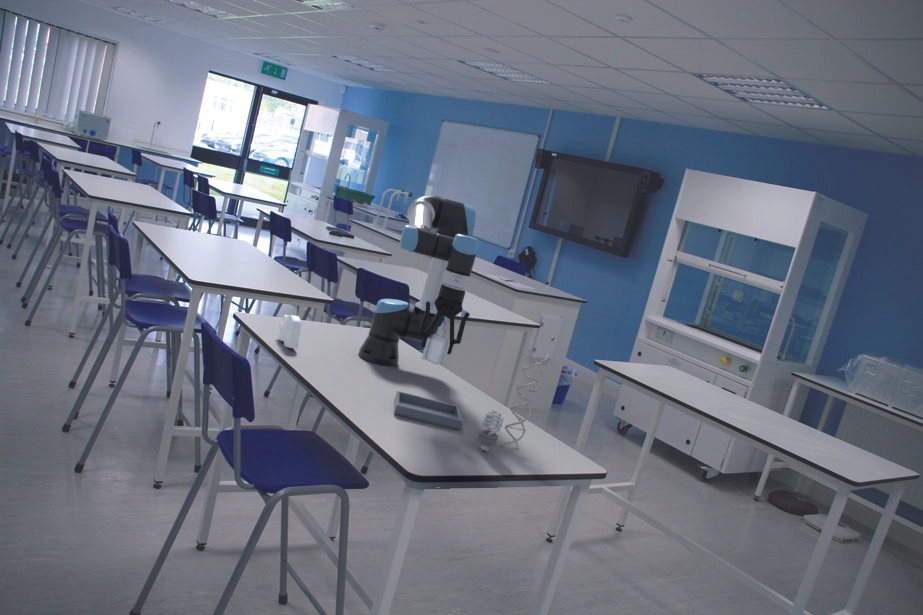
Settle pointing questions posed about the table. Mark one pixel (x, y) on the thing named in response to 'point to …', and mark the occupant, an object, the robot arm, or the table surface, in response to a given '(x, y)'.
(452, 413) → the tray
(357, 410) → the table surface
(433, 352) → the eye dropper bottle
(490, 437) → the light bulb
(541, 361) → the dna model
